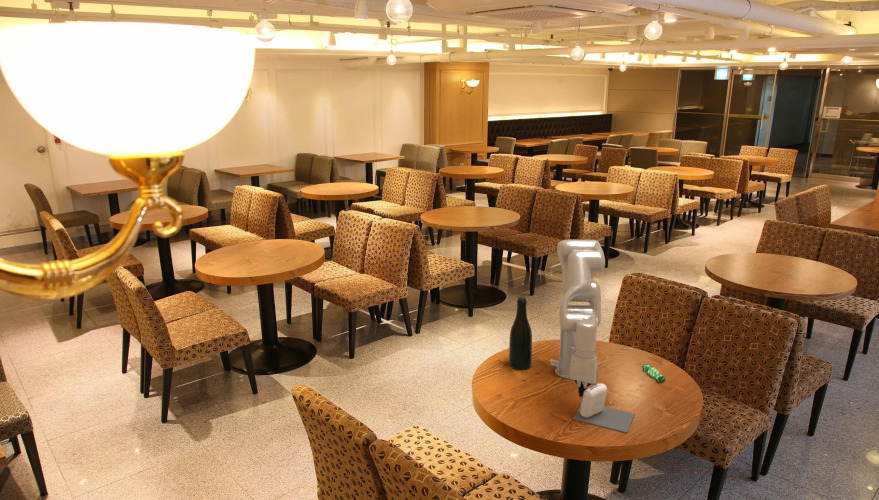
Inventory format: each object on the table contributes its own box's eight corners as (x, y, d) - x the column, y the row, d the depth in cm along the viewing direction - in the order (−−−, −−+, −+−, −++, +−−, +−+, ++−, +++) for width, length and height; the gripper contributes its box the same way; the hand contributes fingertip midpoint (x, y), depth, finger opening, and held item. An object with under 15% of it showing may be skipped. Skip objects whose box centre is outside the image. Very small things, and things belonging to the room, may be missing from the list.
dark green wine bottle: (504, 366, 266) (505, 298, 257) (515, 357, 275) (516, 291, 265) (525, 372, 261) (527, 303, 251) (535, 363, 269) (538, 295, 260)
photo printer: (596, 405, 232) (601, 379, 227) (604, 411, 229) (610, 385, 224) (577, 413, 226) (582, 386, 221) (585, 419, 223) (591, 392, 218)
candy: (640, 369, 261) (645, 361, 260) (645, 372, 262) (651, 364, 261) (656, 382, 249) (661, 374, 249) (661, 385, 251) (667, 377, 250)
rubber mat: (573, 419, 224) (573, 418, 224) (583, 402, 236) (583, 401, 236) (627, 433, 215) (627, 432, 215) (634, 414, 227) (634, 413, 227)
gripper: (562, 351, 223) (560, 395, 228) (602, 360, 216) (599, 404, 221) (568, 344, 229) (566, 386, 234) (607, 352, 222) (604, 395, 227)
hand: (582, 395), depth 227 cm, fingers closed
